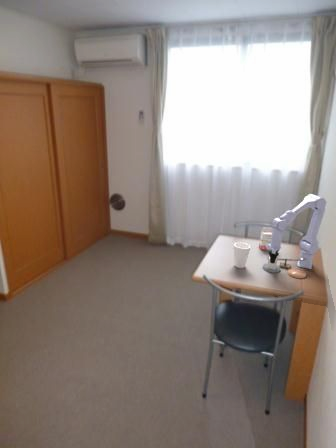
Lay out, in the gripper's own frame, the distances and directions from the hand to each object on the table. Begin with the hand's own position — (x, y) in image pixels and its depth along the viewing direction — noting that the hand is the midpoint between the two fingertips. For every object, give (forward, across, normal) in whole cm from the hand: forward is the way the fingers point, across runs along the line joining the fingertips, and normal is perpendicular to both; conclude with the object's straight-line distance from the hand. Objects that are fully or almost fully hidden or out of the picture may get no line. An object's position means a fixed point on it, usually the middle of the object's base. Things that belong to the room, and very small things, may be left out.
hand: (272, 260), depth 190 cm
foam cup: (+6, +5, -18) cm, 20 cm away
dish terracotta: (+6, 0, +14) cm, 15 cm away
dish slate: (+6, 0, 0) cm, 6 cm away
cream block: (+4, 0, 0) cm, 5 cm away
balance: (+6, -7, +7) cm, 12 cm away
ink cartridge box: (+6, -30, -7) cm, 31 cm away
